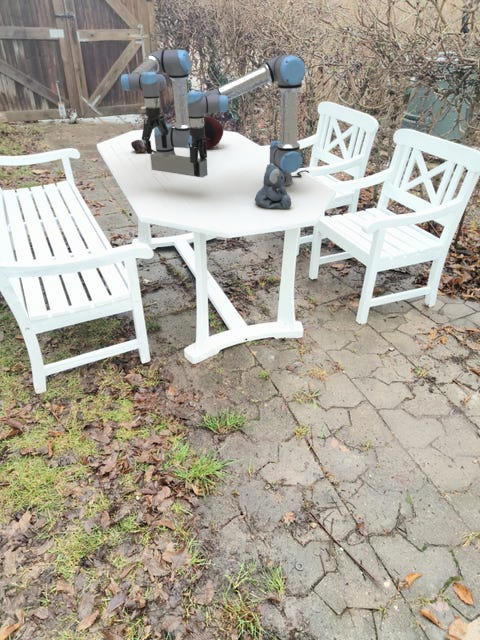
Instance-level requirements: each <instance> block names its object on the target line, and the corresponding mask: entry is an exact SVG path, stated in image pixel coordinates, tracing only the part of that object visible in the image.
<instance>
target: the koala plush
mask: <svg viewBox="0 0 480 640" xmlns="http://www.w3.org/2000/svg"><path fill="white" fill-rule="evenodd" d="M285 182H286V177H284V176H283V173H282V172H281V171H280V169H279V168H278V167H275V166H274V164H271V163H270V162H269V163H267V165H266V168H265V172H264V175H263V186H262V188H260V189H259V190H258V191H257V193H256V194H255V197H254V202H255V204H256V205H257V206H261V207H262V208H264V209H280V210H284V209H289V208H291V207H292V201H291V196H290V194H288V192H287V189H286V186H282V185H283V184H284V183H285ZM281 186H282V187H281Z"/></svg>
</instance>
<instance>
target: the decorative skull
mask: <svg viewBox="0 0 480 640" xmlns="http://www.w3.org/2000/svg"><path fill="white" fill-rule="evenodd" d="M203 127H204V128H205V135H204V136H203V137H204V138H207V141H206V146H207V149H212V148H215V147H216V146H218V145H219V143H220V142H221V140H222V138H223V136H224V126H222V124H221V123H220V122H219V121H218V120H217V119H216V118H215V117H212V116H204V126H203ZM196 148H197V147H196Z"/></svg>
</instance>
